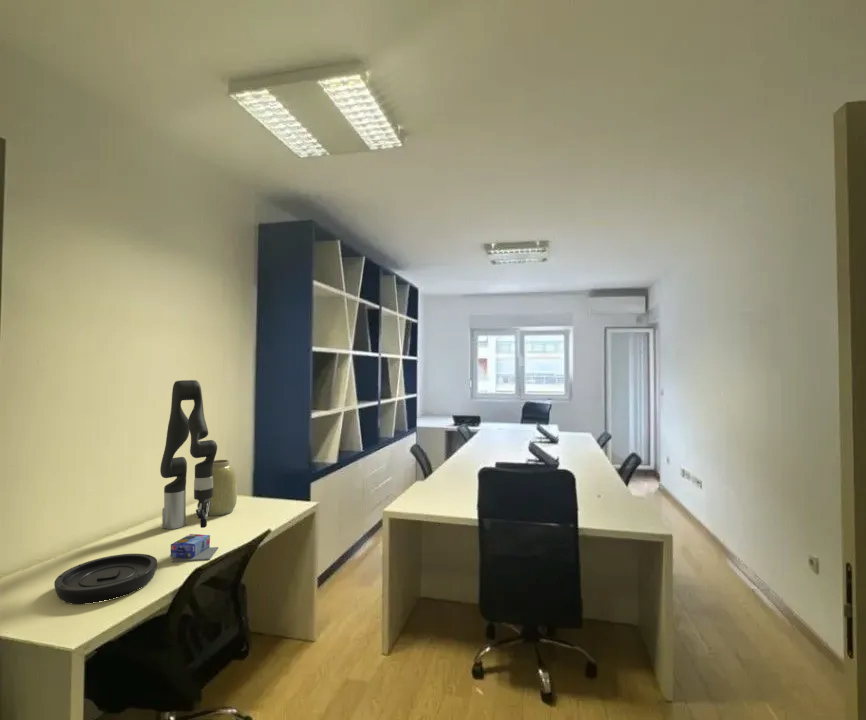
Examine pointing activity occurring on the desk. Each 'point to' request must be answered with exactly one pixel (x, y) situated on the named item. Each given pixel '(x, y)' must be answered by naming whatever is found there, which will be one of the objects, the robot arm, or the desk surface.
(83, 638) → the desk surface
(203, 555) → the mat
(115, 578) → the round tray
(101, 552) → the desk surface
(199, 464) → the robot arm
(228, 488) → the vase
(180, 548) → the ink cartridge box
